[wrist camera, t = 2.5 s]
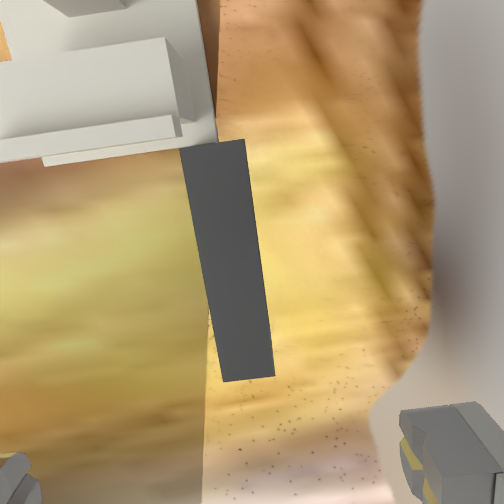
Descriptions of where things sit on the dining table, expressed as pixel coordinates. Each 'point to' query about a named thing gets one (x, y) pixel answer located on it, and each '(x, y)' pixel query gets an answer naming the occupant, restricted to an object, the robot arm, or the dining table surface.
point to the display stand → (102, 79)
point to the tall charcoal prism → (230, 256)
